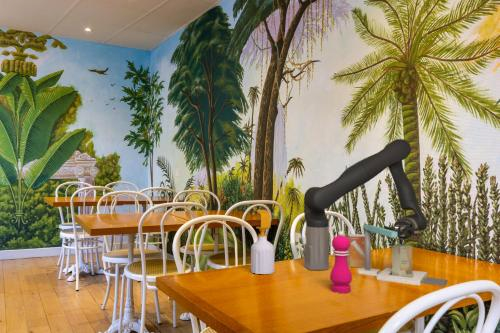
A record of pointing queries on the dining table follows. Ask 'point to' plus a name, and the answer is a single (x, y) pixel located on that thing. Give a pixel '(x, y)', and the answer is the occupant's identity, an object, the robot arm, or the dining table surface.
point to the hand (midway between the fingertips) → (395, 233)
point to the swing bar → (380, 230)
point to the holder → (387, 273)
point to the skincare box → (402, 260)
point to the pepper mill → (341, 265)
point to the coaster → (435, 281)
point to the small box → (356, 250)
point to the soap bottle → (262, 248)
